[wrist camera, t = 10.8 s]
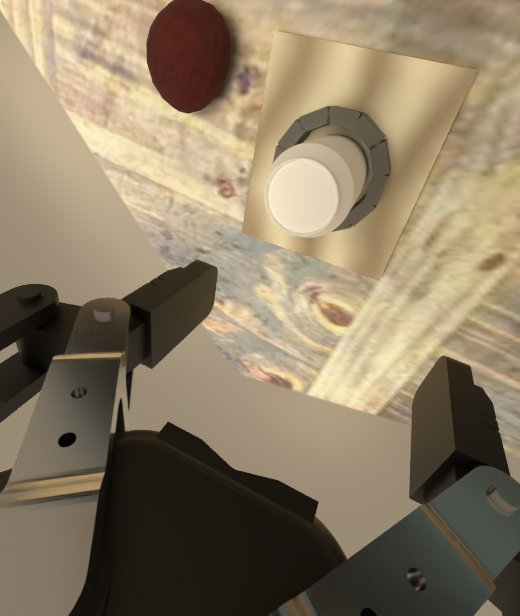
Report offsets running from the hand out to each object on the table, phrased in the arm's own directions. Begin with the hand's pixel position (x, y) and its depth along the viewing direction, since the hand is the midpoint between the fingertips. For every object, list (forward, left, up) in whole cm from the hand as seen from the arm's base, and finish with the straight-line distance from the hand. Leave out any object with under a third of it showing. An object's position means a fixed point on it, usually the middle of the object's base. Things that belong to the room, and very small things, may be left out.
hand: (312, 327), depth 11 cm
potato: (+19, -7, -25) cm, 32 cm away
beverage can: (+4, -1, -24) cm, 24 cm away
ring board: (+4, -1, -25) cm, 25 cm away
